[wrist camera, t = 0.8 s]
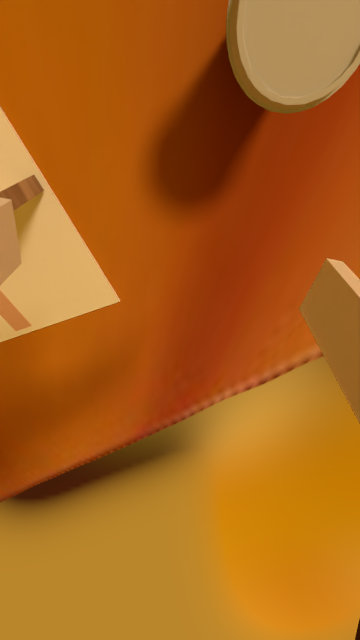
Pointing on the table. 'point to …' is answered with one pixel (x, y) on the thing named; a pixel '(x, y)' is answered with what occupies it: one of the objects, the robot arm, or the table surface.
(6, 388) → the table surface
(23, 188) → the fence flap
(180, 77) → the table surface
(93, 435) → the table surface
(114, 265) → the table surface
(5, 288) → the card
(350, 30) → the disposable coffee cup
